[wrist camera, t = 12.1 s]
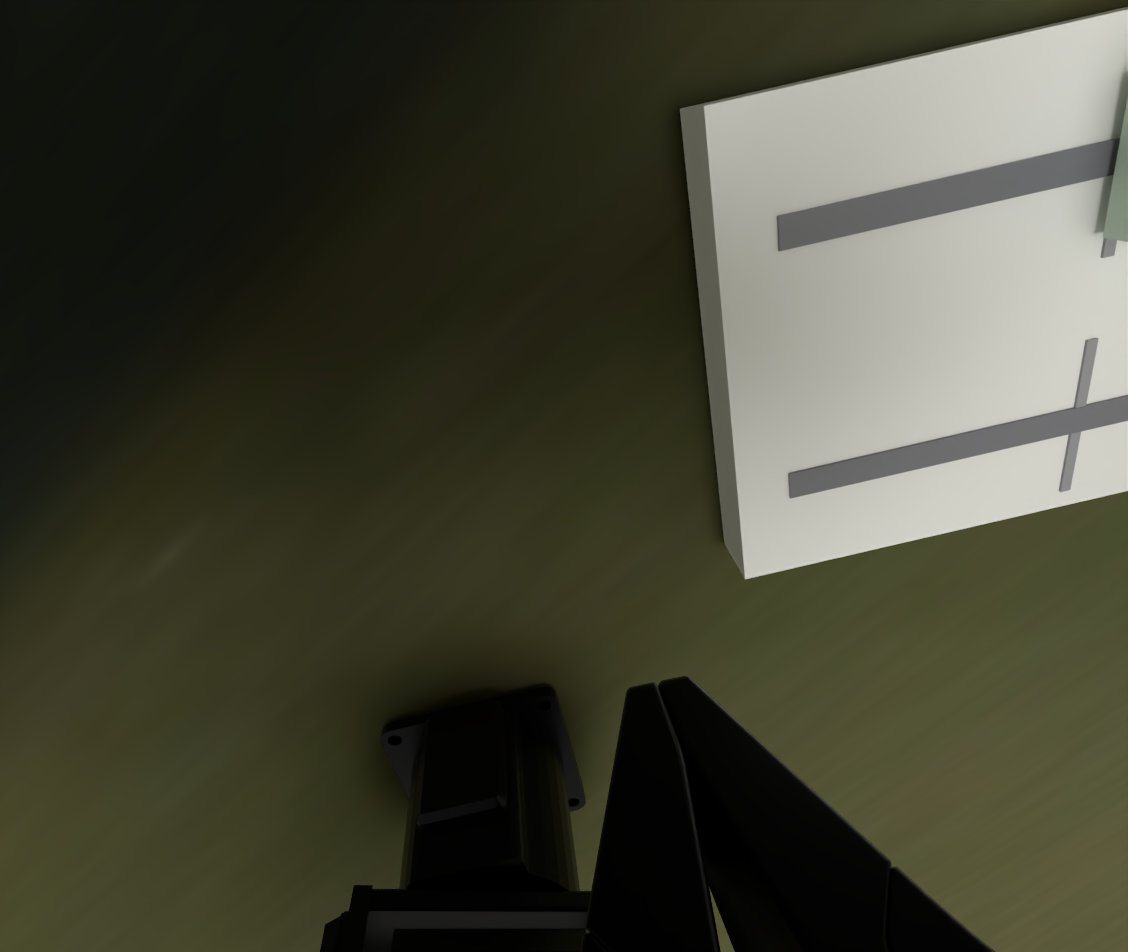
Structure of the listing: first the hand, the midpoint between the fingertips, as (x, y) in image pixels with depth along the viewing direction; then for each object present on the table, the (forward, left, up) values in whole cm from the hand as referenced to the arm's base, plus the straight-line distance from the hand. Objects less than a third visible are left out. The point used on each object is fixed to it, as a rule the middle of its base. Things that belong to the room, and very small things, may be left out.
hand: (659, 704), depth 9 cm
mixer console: (0, -14, -12) cm, 18 cm away
